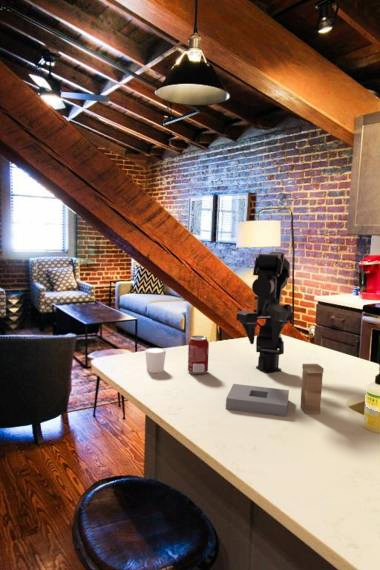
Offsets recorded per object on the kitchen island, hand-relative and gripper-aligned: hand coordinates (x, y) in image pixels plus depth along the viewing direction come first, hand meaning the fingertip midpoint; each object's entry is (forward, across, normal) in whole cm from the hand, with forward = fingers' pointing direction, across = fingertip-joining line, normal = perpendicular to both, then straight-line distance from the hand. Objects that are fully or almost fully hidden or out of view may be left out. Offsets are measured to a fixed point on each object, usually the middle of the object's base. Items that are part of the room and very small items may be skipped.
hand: (263, 343), depth 144 cm
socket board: (+14, -13, -14) cm, 23 cm away
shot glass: (+13, -25, +25) cm, 38 cm away
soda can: (+13, -13, +17) cm, 25 cm away
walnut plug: (+13, -3, -24) cm, 28 cm away
